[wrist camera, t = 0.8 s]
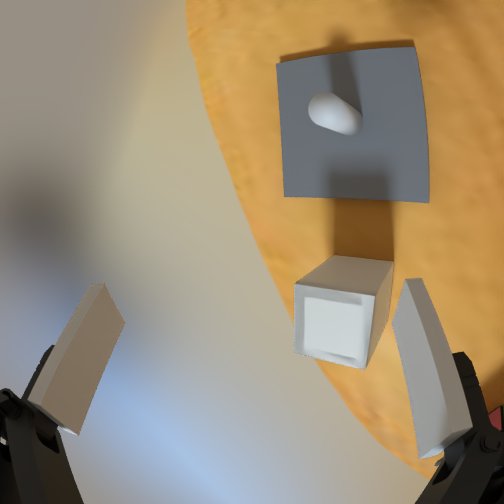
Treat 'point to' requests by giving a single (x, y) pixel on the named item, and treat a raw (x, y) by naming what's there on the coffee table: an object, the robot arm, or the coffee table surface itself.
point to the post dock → (374, 146)
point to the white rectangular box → (342, 309)
